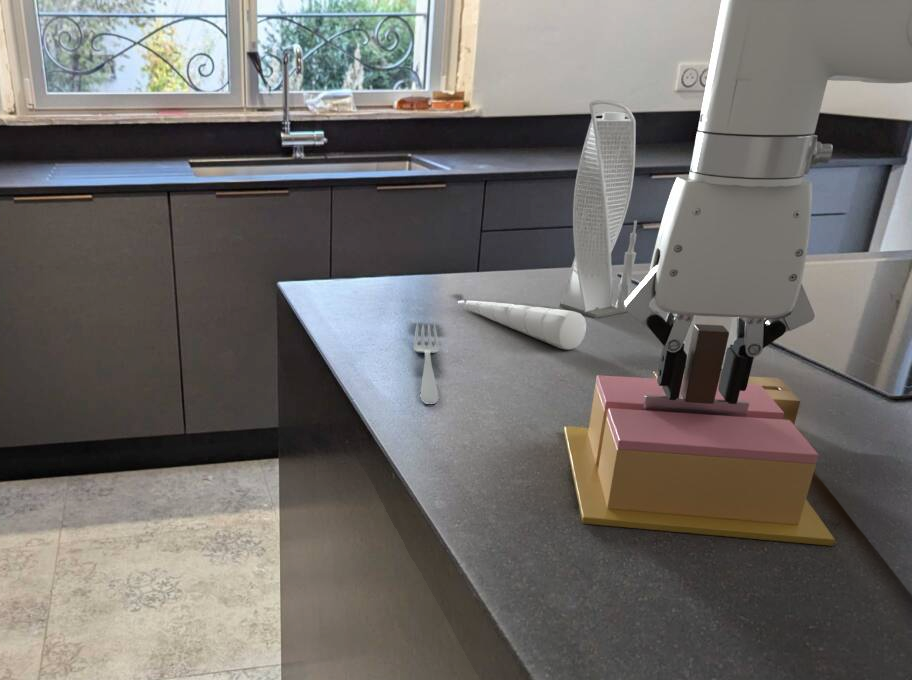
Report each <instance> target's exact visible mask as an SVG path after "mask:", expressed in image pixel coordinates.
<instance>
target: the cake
mask: <svg viewBox="0 0 912 680" xmlns="http://www.w3.org/2000/svg"><path fill="white" fill-rule="evenodd" d="M682 382H683V380H682ZM681 387H682V385H681ZM718 387H719V382H718V386H717V391H716V395H715V399H716V400H725V399H724V398H723V397H722V395H721V394H720V392H719V390H718ZM680 392H681V390H680ZM593 393H594V394H593V399H592V405H591V412H590V419H589V423H588V424H589V426H588V427H583V426H582V427H580V426H567V425H566V426H564V428H563V435H564V439H565V444H566V448H567V449H566V450H567V454H568V459H569V465H570V468H571V474H572V479H573V484H574V488H575V489H574V490H575V494H576V499H577V503H578V509H579V514H580V520H581V523H582V524H585V525H593V526H594V525H597V526H606V527H617V528H629V529H640V530H641V529H642V530H649V531H650V530H651V531H660V532H661V531H662V532H673V533H682V534H683V533H684V534H685V533H686V534H694V535H695V534H696V535H706V536H715V537H716V536H717V537H718V536H719V537H727V538H728V537H729V538H741V539H752V540H760V541H761V540H765V541H775V542H784V543H795V544H796V543H797V544H807V545H817V546H828V547H834V546H835V543H836V538H835V537H834V536H833V534H832V533H831V531H830V530H829V528H827V526H826V524H825V523H824V521H822V518H820V517H819V515H818V513H817V512H816V511H815V509H814V507H812V505H811V504H810V502H809V501H808V500H807V497H808V495H809V490H810V487H811V483H812V480H813V476H814V472H815V471H816V470H815V469H816V464H817V463H818V459H819V453H818V451H816V450H815V448H814V447H813V445H811V443H810V442H809V441H808V440H807V438H806V437H805V436H804V435H803V434H802V433H801V432H800V430H799V428H797V427H796V426H795V424H793V423H792V422H791V421H790V420H783V416H784V412H783V411H782V410H781V409H780V407H779V406H778V405H777V404H776V403H775V401H774V400H773V399H772V398H771V397H770V395H769V394H768V393H767V392H766V391H765V389H764V388H763V387H762V386H761V385H754V384H747V388H746V390H745V391H740V393H739V397H738V401H748V402H749V407H748V411H747V416H746V417H737V416H722V415H706V414H691V413H676V412H661V411H646V410H642V409H643V403H644V398H645V395H652V396H666V394H665V392H664V390H663V388H662V386H659V385H658V383H657V379H653V378H652V377H633V376H618V375H617V376H616V375H602V374H601V375H600V374H597V375H596V378H595V385H594V392H593ZM679 397H682V395H681V394H680V395H679Z"/></svg>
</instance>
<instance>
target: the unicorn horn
mask: <svg viewBox="0 0 912 680" xmlns="http://www.w3.org/2000/svg"><path fill="white" fill-rule="evenodd" d="M457 303H458V304H459V306H462V307H463V308H465V309H467V310H469V311H470V312H473V313H475V314H477V315H480V316H482V317H484V318H486V319H488V320H491V321H493V322H496V323H497V324H500V325H503V326H505V327H507V328H510V329H512V330H515V331H517V332H518V333H519V332H520V333H521V334H524V335H525V336H526V335H527V336H529V337H532V338H534V339H536V340H538V341H542V342H544V343H547V344H549V345H551V346H553V347H555V348H558V349H560V350H561V349H562V350H565V351H571V350H574V349H575V348H577V347H578V346H580V345H581V344H582V342H583V341H584V339H585V336H586V333H587V322H586V319H585V317H584V315H583V314H582V313H579V312H576V311H573V310H568V309H558V308H550V307H549V308H548V307H540V306H532V305H525V304H514V303H505V302H495V301H481V300H466V301H465V300H458V301H457Z"/></svg>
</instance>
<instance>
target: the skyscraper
mask: <svg viewBox="0 0 912 680" xmlns="http://www.w3.org/2000/svg"><path fill="white" fill-rule="evenodd" d="M596 105H608V106H614V107H616V108H620V109H622V110H623V112H622V111H597V112H596V110H595V106H596ZM588 106H589V111H590V115H591V119H590V122H589V125H588V129H587V133H586V135H585V139H584V143H583V147H582V150H581V154H580V158H579V161H578V162H579V163H578V166H577V172H576V177H575V182H574V183H575V184H574V190H573V200H572V201H573V202H572V234H573V235H572V236H573V246H574V254H575V255H574V257H573V261H572V265H571V267H570V270H569V274H568V277H567V280H566V283H565V286H564V290H563V293H562V296H561V299H560V301H559V307H560V308H562V309H565V310H568V311H574V312H577V313H581V315H584V316H588V317H591V318H595V319H597V318H602V317H608V316H613V315H617V314H622V313H623V314H624V313H627V312H626V310H625V308H624V306H623V305H624V302H625V300H626V299H627V298H628V297H629V296H630V295H631V291H632V287H633V283H632V279H633V278H632V277H633V270H634V266H635V261H636V257H637V252H635V244H636V240H637V235H638V234H637V233H636V229H637V224H638V220H634V221H633V228H632V232H630V235H629V243H628V245H629V246H628V249H627V251H625V252H624V257H623V267H622V274H621V277H620V281H619V282H618V288H617V289H618V290H617V300H616V303H615V302H614V290H613V267H612V265H613V264H612V252H613V249H614V248H615V245H616V243H617V240H618V238H619V235H620V233H621V230H622V227H623V225H624V221H625V218H626V215H627V212H628V208H629V204H630V201H631V196H632V190H633V187H634V185H633V184H634V176H635V168H636V166H635V165H636V135H637V133H636V125H637V124H636V123H637V122H636V118H635V116H634V115H633V113H632V111H631V110H630V109H629V107H627V106H626V105H625V104H623V103H620V102H618V101H614V100H609V99H608V100H607V99H598V100H594V101H591V102H590V103H589V104H588ZM600 116H602V118H600ZM597 117H599V118H597Z"/></svg>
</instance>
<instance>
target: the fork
mask: <svg viewBox="0 0 912 680" xmlns="http://www.w3.org/2000/svg"><path fill="white" fill-rule="evenodd" d="M437 332H438V331H437V326H436V324H435V323H434V324H433V340H434V345H433V344H432V332H431V324H430V323H428V324H427V344H425V324H424V323H422V325H421V331H420V344H418V342H419V323H416V327H415V332H414V340H413V347H414V348H413V351H415V353H418V354H419V353H421V354H422V353H424V364H423V372H422V378H421V386H420V392H421V394H420V393H419V398H420V397H422V398H421V399H424V401H425V402H428V403H429V404H430V403H432V404H434V403H436V402H437V401H438V402H439V400H440V397H439V391H438V387H437V382H436V379H435V378H436V377H435V373H434V370H433V365H432V358H431V354H437V353H438V352H439V351H440V345H439V341H438V333H437ZM421 399H420V400H421ZM438 399H439V400H438ZM438 402H437V403H438ZM437 403H436V404H437Z"/></svg>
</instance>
